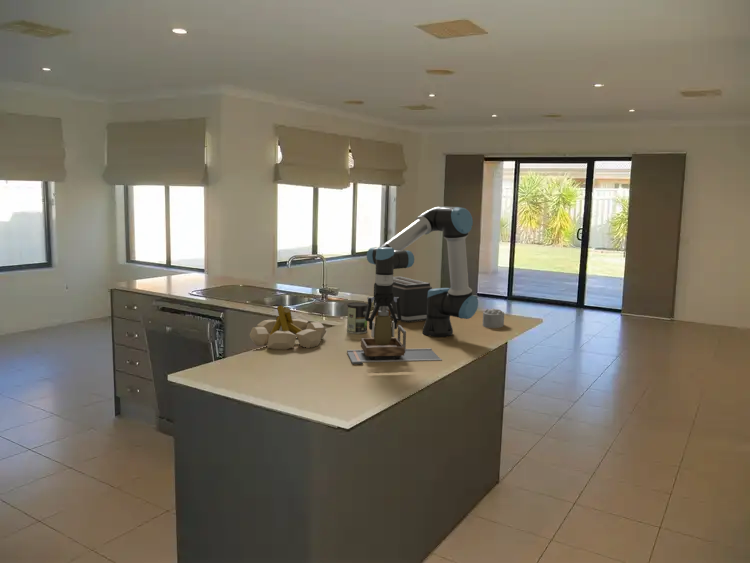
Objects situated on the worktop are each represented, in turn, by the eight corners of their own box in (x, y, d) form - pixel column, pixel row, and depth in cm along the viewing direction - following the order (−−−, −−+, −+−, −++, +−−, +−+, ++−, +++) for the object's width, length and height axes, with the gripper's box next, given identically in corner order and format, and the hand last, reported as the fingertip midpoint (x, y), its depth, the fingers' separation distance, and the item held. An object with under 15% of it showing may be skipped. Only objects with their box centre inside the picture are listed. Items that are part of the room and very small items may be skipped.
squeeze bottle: (378, 347, 261) (379, 305, 258) (369, 342, 268) (370, 301, 266) (395, 345, 265) (396, 303, 262) (386, 341, 272) (387, 300, 269)
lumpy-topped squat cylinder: (505, 324, 339) (506, 309, 338) (498, 329, 328) (498, 313, 327) (487, 322, 344) (488, 306, 343) (479, 326, 333) (480, 310, 332)
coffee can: (369, 330, 319) (369, 302, 316) (364, 334, 309) (365, 306, 306) (349, 328, 321) (350, 301, 318) (344, 333, 311) (345, 305, 308)
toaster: (397, 308, 376) (398, 275, 373) (433, 319, 347) (434, 283, 344) (370, 311, 365) (371, 277, 362) (405, 323, 337) (406, 285, 334)
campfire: (260, 331, 311) (260, 297, 308) (328, 333, 309) (329, 300, 307) (243, 350, 276) (243, 312, 273) (319, 352, 275) (320, 314, 272)
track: (431, 351, 280) (431, 348, 280) (441, 362, 263) (442, 359, 263) (347, 353, 274) (347, 350, 274) (352, 364, 256) (352, 361, 256)
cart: (398, 350, 277) (399, 324, 275) (406, 360, 261) (407, 332, 259) (360, 350, 274) (361, 324, 272) (366, 361, 258) (366, 333, 256)
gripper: (360, 285, 257) (359, 339, 261) (410, 285, 261) (408, 338, 264) (358, 282, 264) (357, 335, 268) (406, 282, 268) (404, 334, 271)
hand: (382, 336), depth 266 cm, fingers closed on squeeze bottle, 8 cm apart
